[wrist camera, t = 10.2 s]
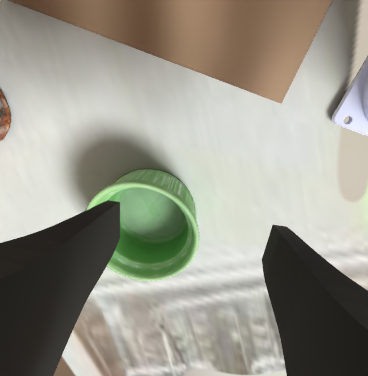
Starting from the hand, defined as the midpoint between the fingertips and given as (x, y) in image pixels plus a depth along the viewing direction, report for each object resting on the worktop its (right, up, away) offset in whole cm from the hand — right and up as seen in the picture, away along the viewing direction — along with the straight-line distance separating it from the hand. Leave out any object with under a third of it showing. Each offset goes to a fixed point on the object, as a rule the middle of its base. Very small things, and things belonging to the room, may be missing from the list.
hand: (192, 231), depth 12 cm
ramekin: (-3, 0, +11) cm, 12 cm away
